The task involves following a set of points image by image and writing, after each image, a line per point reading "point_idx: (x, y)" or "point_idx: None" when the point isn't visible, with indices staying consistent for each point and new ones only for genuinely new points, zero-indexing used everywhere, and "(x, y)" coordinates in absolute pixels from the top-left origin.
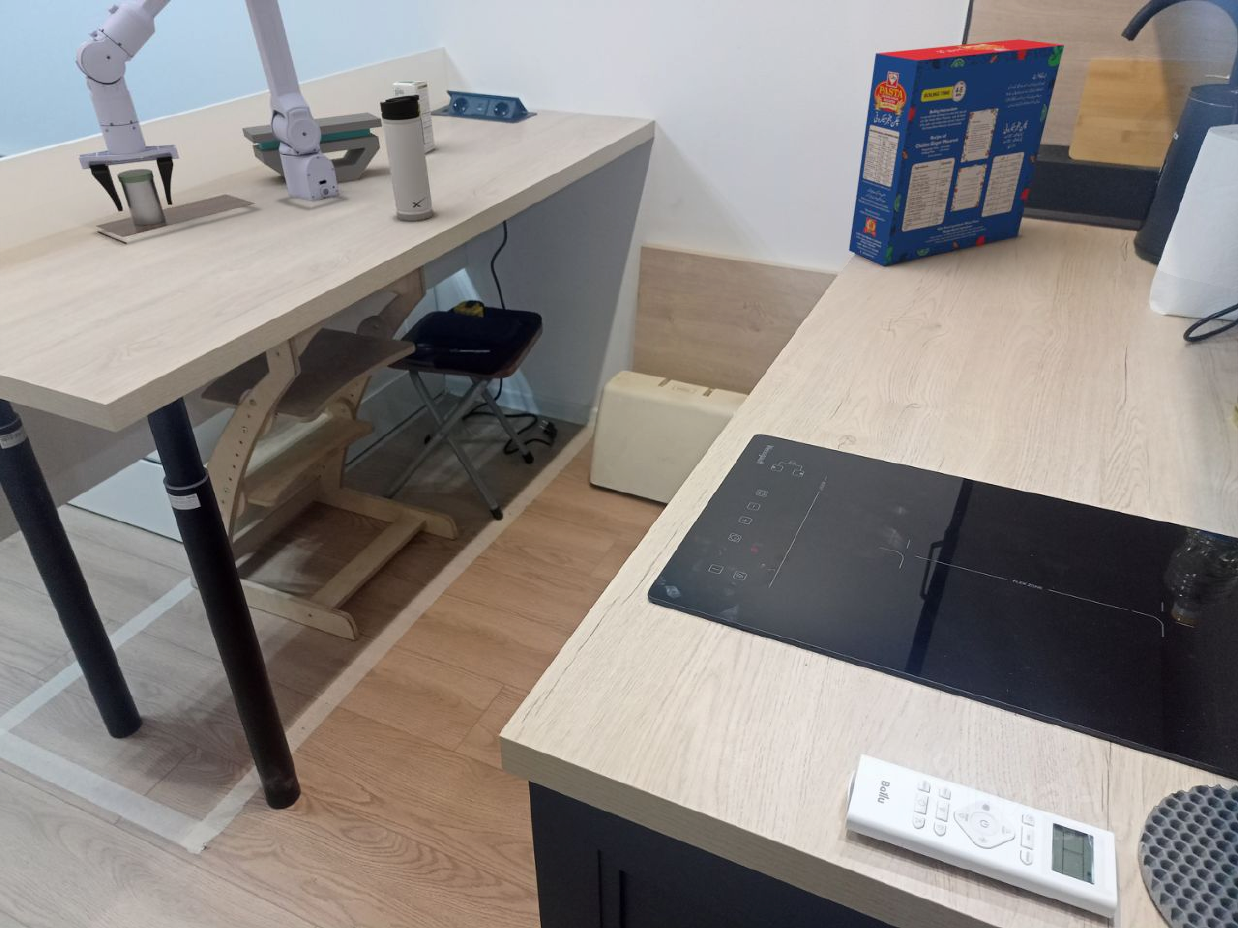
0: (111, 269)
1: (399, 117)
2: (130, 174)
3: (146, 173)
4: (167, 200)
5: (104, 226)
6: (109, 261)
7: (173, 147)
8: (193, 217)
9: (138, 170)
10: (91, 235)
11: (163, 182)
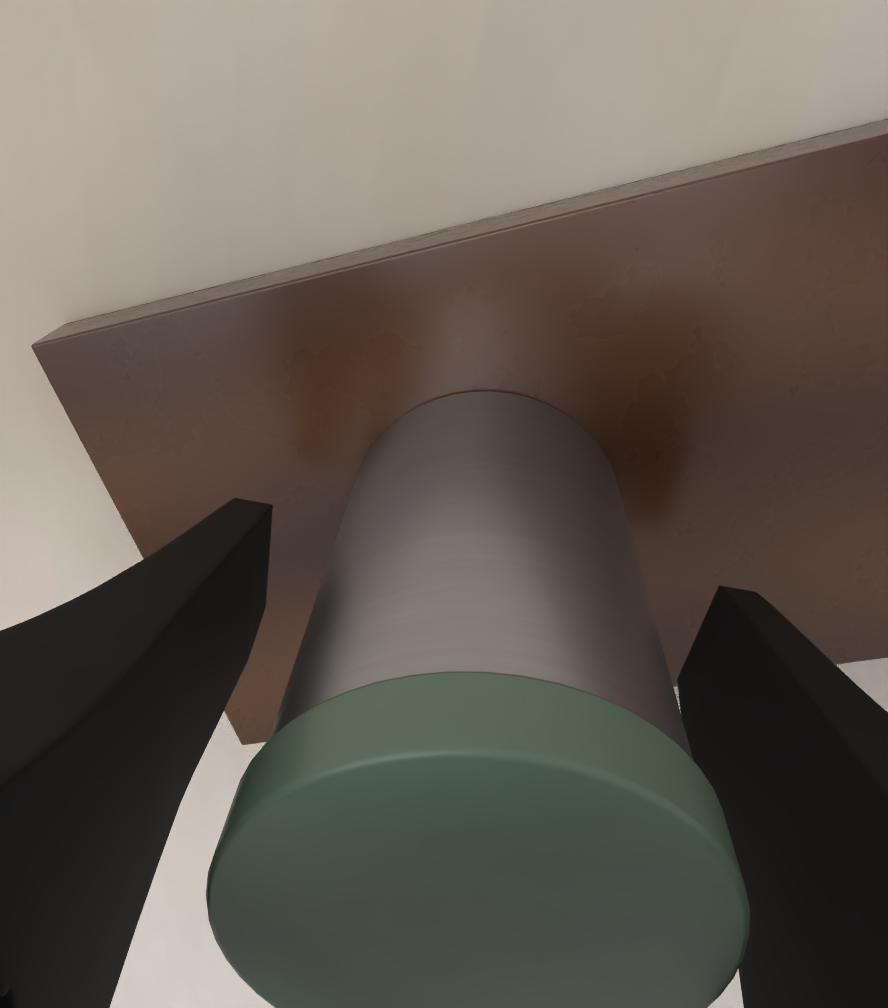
0: (175, 962)
1: None
2: (396, 974)
3: None
4: (689, 728)
5: (112, 426)
6: (165, 884)
7: None
8: None
9: (575, 857)
10: (16, 361)
11: None
